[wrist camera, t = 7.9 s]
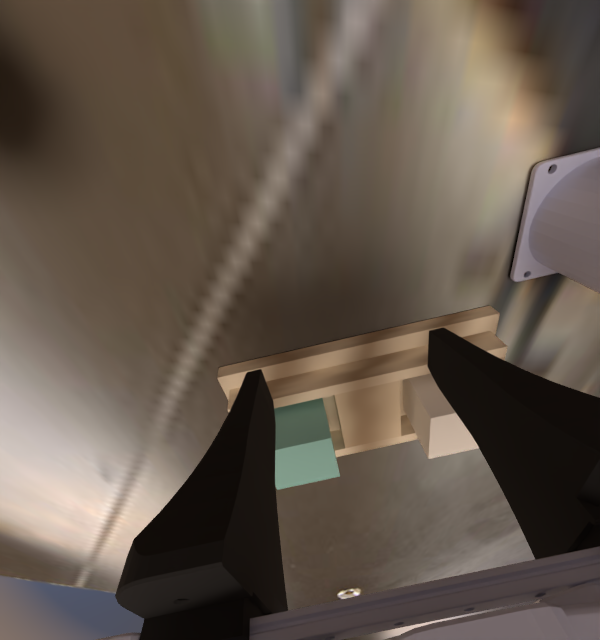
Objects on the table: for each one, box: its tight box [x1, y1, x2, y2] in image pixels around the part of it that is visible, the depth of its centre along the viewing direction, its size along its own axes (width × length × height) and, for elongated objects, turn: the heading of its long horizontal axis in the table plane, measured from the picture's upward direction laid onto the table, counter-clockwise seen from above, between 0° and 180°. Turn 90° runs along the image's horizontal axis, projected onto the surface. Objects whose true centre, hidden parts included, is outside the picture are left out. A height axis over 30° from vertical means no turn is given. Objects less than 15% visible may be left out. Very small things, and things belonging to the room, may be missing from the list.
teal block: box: [274, 398, 340, 490], centre depth 24 cm, size 5×5×5 cm
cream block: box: [403, 373, 479, 459], centre depth 24 cm, size 5×5×5 cm
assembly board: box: [217, 306, 508, 457], centre depth 26 cm, size 22×12×3 cm, turn 102°
